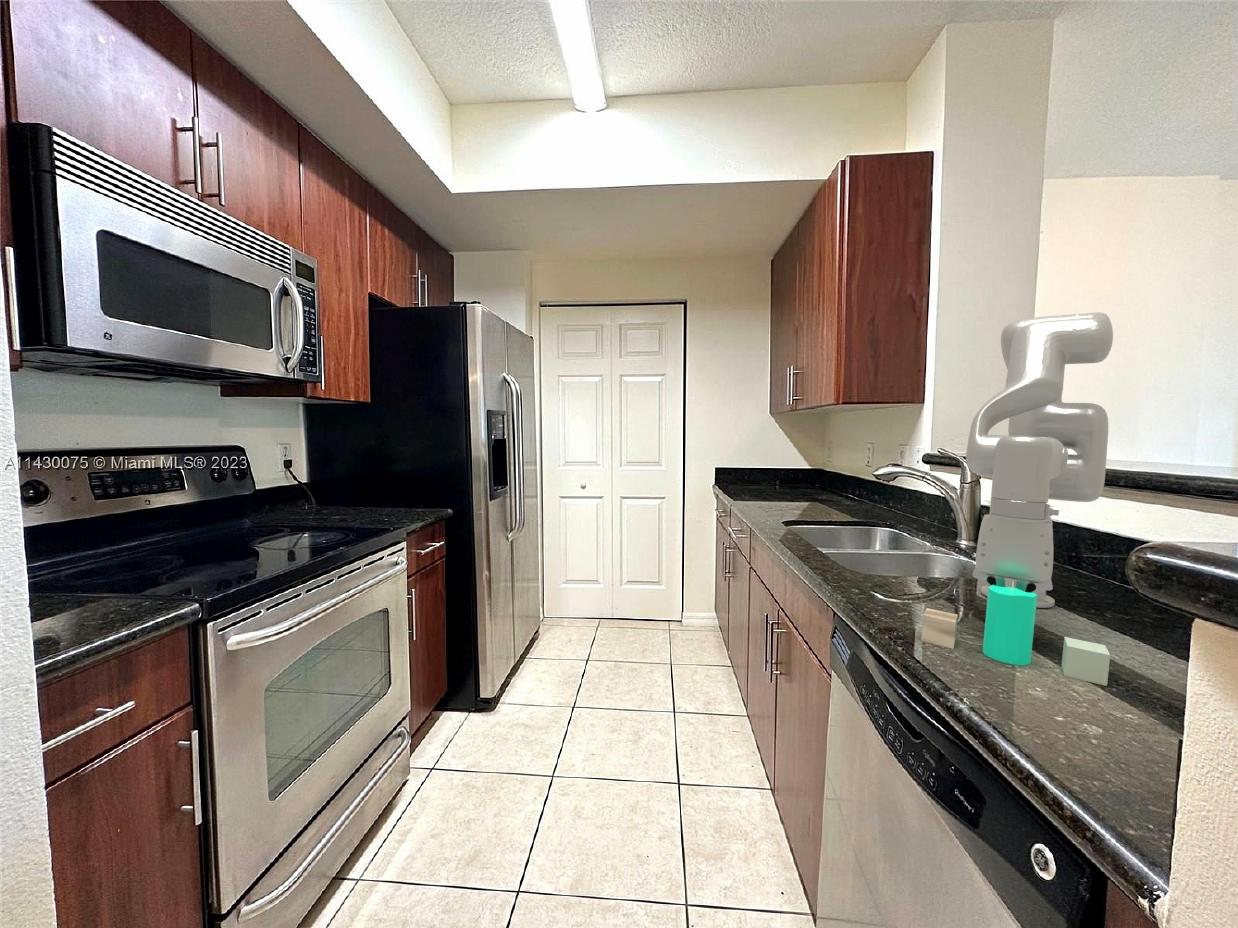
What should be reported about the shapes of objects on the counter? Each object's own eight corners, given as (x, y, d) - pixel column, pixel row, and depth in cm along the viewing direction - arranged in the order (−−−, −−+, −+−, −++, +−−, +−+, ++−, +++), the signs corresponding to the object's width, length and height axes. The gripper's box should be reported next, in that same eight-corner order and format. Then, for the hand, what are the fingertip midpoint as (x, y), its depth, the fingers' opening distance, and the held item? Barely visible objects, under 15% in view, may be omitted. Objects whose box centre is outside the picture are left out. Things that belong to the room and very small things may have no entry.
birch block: (924, 633, 88) (926, 608, 88) (955, 640, 86) (957, 614, 85) (921, 641, 85) (923, 614, 85) (953, 649, 82) (955, 621, 82)
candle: (1039, 667, 76) (1047, 588, 76) (994, 662, 78) (1001, 584, 77) (1017, 651, 82) (1024, 577, 82) (975, 646, 84) (981, 573, 83)
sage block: (1061, 665, 78) (1064, 636, 77) (1101, 675, 75) (1105, 645, 75) (1064, 676, 74) (1067, 645, 74) (1106, 686, 71) (1110, 655, 71)
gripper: (1074, 514, 84) (1063, 623, 85) (965, 503, 93) (956, 602, 94) (1080, 519, 78) (1068, 636, 79) (962, 506, 87) (953, 613, 88)
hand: (1007, 618), depth 87 cm, fingers closed
